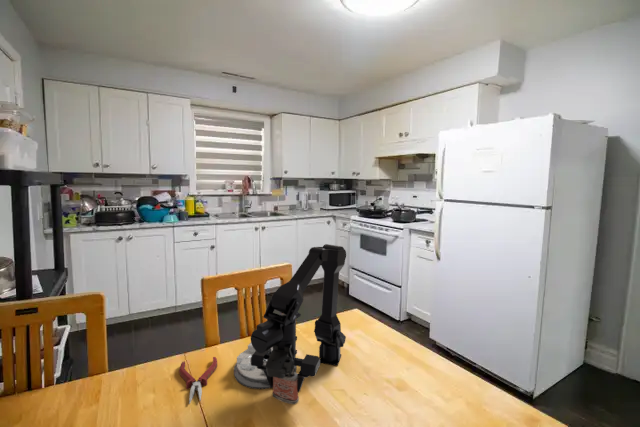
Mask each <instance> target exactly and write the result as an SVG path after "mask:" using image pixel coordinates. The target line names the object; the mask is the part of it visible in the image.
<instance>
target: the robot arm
mask: <svg viewBox="0 0 640 427" xmlns="http://www.w3.org/2000/svg"><path fill="white" fill-rule="evenodd" d="M346 259H347V251H346V249H345V248H344V247H343V246H341V245H334V244H327V243H325V244H324V245H323V246H314V247H310V248H309V250H308V254H307V256H306V257H305V258H304V260H303V261H302V263H301V264H300V265H299V267H298V269H297V270H296V272H294V274H293V275H292V277H291V279H290V280H289V281H288V282H285V283H283V284H282V285H280V286H279V287H278V288H277V289H276V290H275V292H274V293H273V294H272V296H271V298H270V300H269V303H268V304H267V308H266V310H265V312H264V314H263V319H266V321H264V322H261V323H259V324H257V325H256V329H255V330H253V331H252V333H251V336H250V343H252V346H253V348H254V349H255V350H256V351H255V352H254V353H253V354H252V356H251V366H257V368H258V369H261V370H263V371H264V373H265V375H266V377H267V380H268V382H269V385H270V387H272V386H273V377H277V378H280V379H281V378H284V376H285V375H287V374H288V373H292V371H293V368H294V366H297V367H300V368H299V372H297V373H298V375H297V376H298V386H297V390H298V394H299V393H300V392H301V389H302V386H303V383H304V381H305V378H306V379H307V378H309V377H311V378H313V377H315V376H316V375H317V372H318V370H319V368H320V365H321V364H326V365H332V366H339V363H340V361H341V358H342V354H341V348H343V347H344V344H345V343H346V338H347V336H346V335H345V334H344V333H343V332H342V329H341V327H342V326H341V322H340V320H339V317H338V315H337V310H338V295H339V294H338V293H339V282H340V280H339V277H340V271H341V270H342V269H343V268H344V266H345V264H346ZM320 267H322V269H323V287H322V288H323V289H322V300H321V315H320V316H319V317H318V319H316V320H315V321H314V330H313V332H314V336H315V338H316V341H317V342H320V344H319V346H318V348H319V350H318V353H319V354H318V355H313V354H307V353H306V354H305V356H304V357H303V358H299V357H297V356H296V355H297V353H298V350H297V346H296V345H297V343H296V342H297V340H298V336H297V319H299V318H300V317H301V316H302V314H301V313H300V312H299V310H300V308H301V306H302V304H303V302H304V292H305V291H306V289H307V287H308V286H309V285H310V282H311V281H312V280H313V278H314V276H315V275H316V273H317V272H318V270H319V269H320ZM275 312H278V313H281V314H278V313H275ZM272 347H273V350H272V349H271V348H272Z"/></svg>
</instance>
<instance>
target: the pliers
mask: <svg viewBox="0 0 640 427" xmlns="http://www.w3.org/2000/svg"><path fill="white" fill-rule="evenodd" d="M185 368H186V361H181V363H180V365H179V369H178V373H179V376H180V377H181V378H182V379H183V381H185V382H186V383H185V388H186V390H188V389H190V391H189V396H188V398H189V400H188V404H189V405H190V404H191V402H192V399H193V398H194V396H195V391H197V395H198V399H199V402H201V401H202V394H203V389H202V387H203V386H205V387H206V386H207V385H208V380H209V378H210V377H211V376H212V375H213V374H214V373H215V371H216V370H217V369H218V359H217V357H216V356H213V357H212V363H211V365H210V366H209V367H208V368H207V369H206V370H205V371H204V373H202V374H201V375H200V376H199V377H198V379H196V378H194V377H193V376H192V375H191V374H190V373H189V372H188V371H187V370H186V369H185Z"/></svg>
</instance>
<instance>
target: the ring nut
mask: <svg viewBox="0 0 640 427" xmlns="http://www.w3.org/2000/svg"><path fill="white" fill-rule="evenodd" d="M271 349H272V350H273V347H272V348H271ZM255 351H256V350H255V349H254V348H253V346H252V343H251V342H250V343H249V344H248V345H247V349H244V351H242V352H240V353H239V355H238V356H237V357H236V363H237V371H238V373H239V375H240V376H241V377H243V378H244V379H246V380H249V381H253V382H268V380H267V377H266V375H265V373H264V371H263V370H261V369H258V368H257V366H251V356H252V354H253V353H254V352H255Z"/></svg>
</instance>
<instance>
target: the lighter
mask: <svg viewBox="0 0 640 427" xmlns="http://www.w3.org/2000/svg"><path fill="white" fill-rule="evenodd" d="M298 373H299V372H297V371H296V372H295V367H294V368H293V371H292V373H288V374H287V375H285V376H284V378H281V379H280V378H277V377H273V388H272V397H273V398H274V399H276V400H277V401H280V402H282V403H286V404H289V405H297V404H298V403H299V402H300V401H299V399H300V398H299V393H298V390H297V386H298V376H297V375H298Z"/></svg>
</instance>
